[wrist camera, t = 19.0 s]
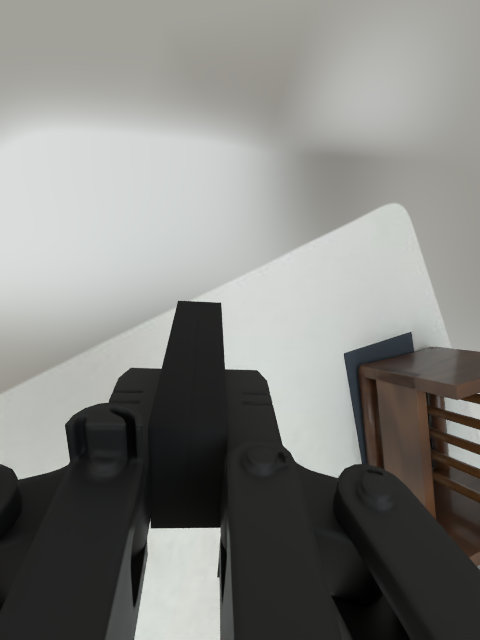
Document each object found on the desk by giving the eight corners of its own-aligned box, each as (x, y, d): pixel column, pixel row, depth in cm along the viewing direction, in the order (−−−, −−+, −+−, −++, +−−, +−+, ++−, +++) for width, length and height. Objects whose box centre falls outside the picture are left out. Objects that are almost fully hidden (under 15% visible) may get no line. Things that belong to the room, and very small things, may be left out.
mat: (343, 353, 40) (344, 353, 40) (410, 332, 44) (411, 332, 44) (369, 505, 42) (369, 505, 42) (431, 472, 46) (431, 472, 46)
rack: (354, 363, 40) (455, 384, 29) (430, 345, 45) (543, 357, 34) (367, 502, 42) (469, 572, 31) (440, 471, 46) (551, 522, 35)
